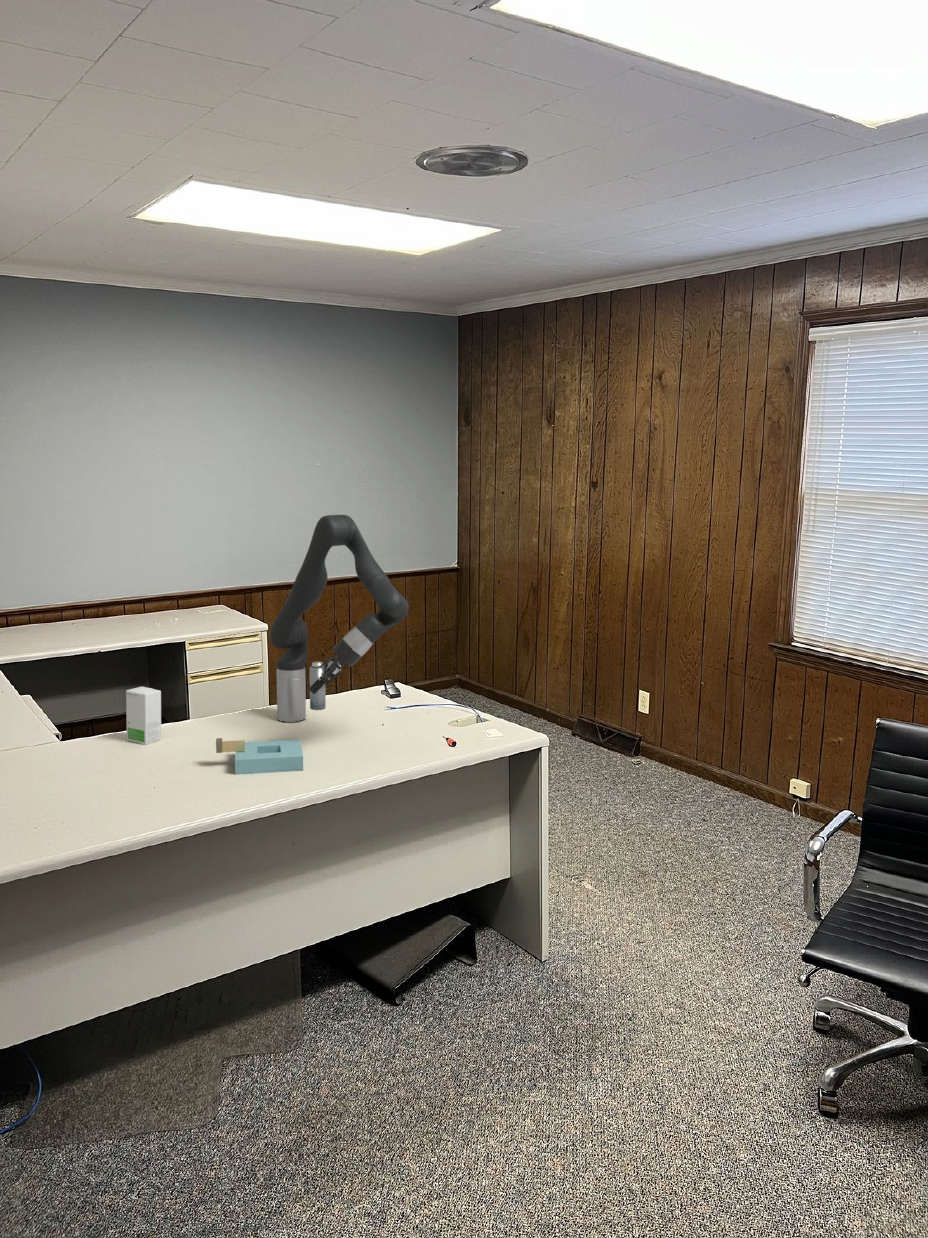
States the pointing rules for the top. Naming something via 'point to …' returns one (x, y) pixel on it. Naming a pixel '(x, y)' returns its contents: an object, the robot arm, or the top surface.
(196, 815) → the top surface
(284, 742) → the dock
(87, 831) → the top surface
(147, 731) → the skincare box
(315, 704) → the metal capped cylinder
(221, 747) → the block hammer
